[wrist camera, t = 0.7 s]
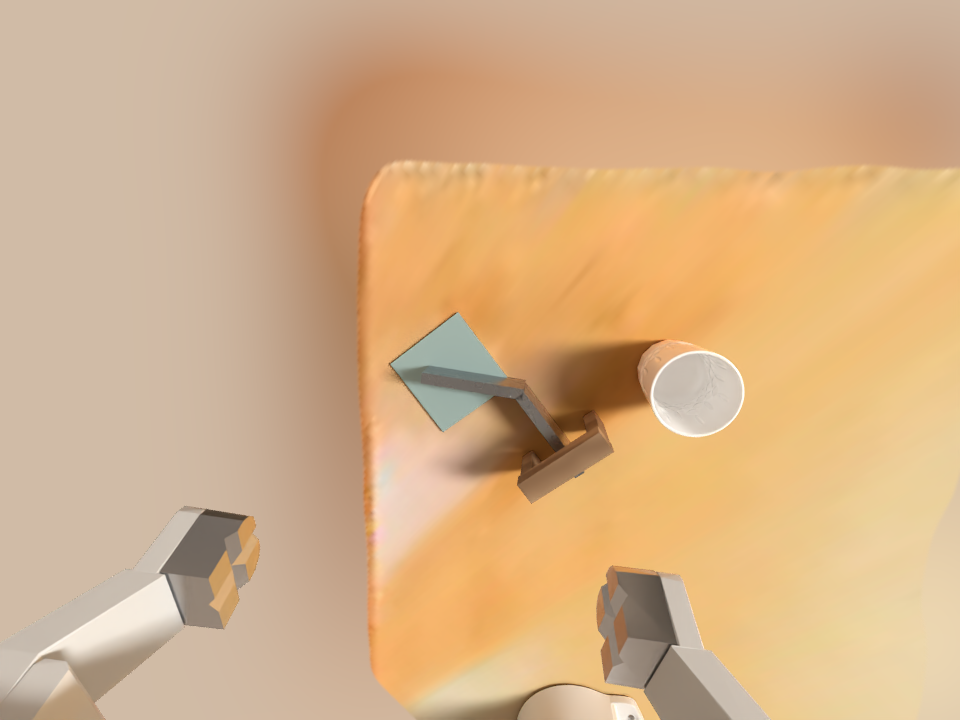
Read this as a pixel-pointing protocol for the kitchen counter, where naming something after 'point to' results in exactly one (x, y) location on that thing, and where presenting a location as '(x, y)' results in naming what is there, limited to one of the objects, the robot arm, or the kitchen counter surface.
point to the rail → (503, 389)
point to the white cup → (690, 387)
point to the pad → (453, 351)
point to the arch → (564, 460)
